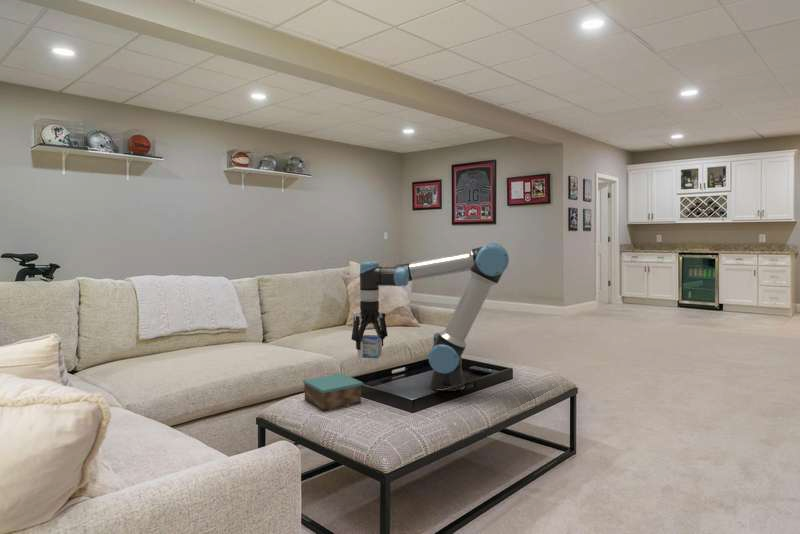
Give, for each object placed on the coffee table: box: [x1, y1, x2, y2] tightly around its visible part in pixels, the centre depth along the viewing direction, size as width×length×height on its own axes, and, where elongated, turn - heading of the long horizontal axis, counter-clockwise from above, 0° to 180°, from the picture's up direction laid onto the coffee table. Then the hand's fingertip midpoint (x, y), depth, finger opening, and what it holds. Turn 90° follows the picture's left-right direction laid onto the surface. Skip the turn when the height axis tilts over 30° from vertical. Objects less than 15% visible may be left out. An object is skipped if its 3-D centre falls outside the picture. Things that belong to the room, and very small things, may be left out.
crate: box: [303, 383, 362, 412], centre depth 202 cm, size 16×16×7 cm
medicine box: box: [361, 334, 382, 359], centre depth 211 cm, size 8×4×9 cm, turn 76°
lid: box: [302, 372, 364, 393], centre depth 202 cm, size 17×17×1 cm
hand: (369, 355), depth 212 cm, fingers closed on medicine box, 8 cm apart
